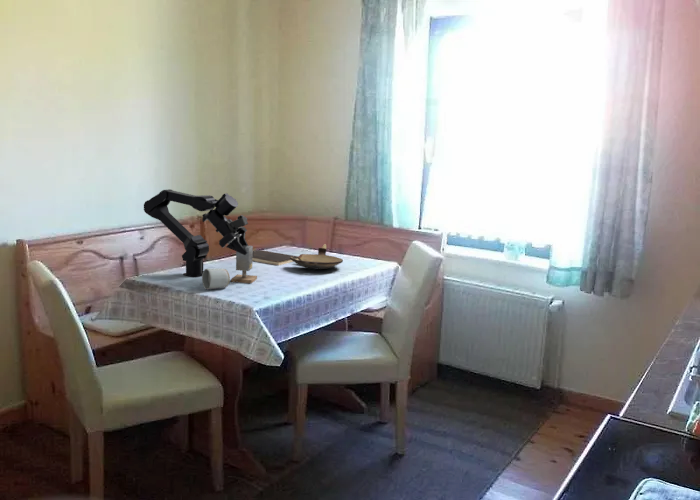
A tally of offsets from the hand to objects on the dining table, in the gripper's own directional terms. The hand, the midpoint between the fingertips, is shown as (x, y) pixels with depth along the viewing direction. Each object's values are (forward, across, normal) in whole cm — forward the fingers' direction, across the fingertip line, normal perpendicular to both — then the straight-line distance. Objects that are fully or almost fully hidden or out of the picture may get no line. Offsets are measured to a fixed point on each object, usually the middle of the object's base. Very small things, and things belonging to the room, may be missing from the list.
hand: (247, 252), depth 259 cm
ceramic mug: (+2, -14, +14) cm, 20 cm away
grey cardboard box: (+4, 0, +6) cm, 7 cm away
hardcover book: (+7, +43, +10) cm, 45 cm away
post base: (+7, 0, +9) cm, 11 cm away
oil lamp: (+24, +33, -8) cm, 42 cm away
